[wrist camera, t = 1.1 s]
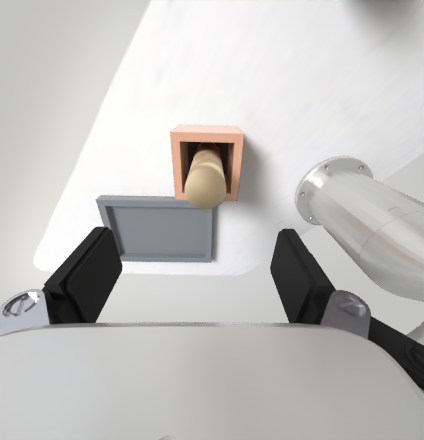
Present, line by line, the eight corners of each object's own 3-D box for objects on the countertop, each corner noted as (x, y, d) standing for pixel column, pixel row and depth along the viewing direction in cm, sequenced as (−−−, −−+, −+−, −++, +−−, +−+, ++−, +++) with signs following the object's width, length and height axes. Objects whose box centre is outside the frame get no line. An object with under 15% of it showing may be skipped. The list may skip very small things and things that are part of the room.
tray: (212, 197, 36) (212, 201, 34) (211, 256, 43) (211, 262, 41) (100, 195, 35) (95, 199, 34) (118, 255, 42) (114, 261, 41)
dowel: (220, 141, 31) (227, 170, 18) (219, 167, 33) (225, 209, 20) (194, 141, 31) (183, 169, 18) (195, 166, 33) (185, 208, 20)
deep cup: (236, 126, 30) (244, 133, 23) (232, 180, 34) (237, 200, 27) (179, 124, 29) (170, 131, 23) (182, 179, 34) (175, 199, 27)
